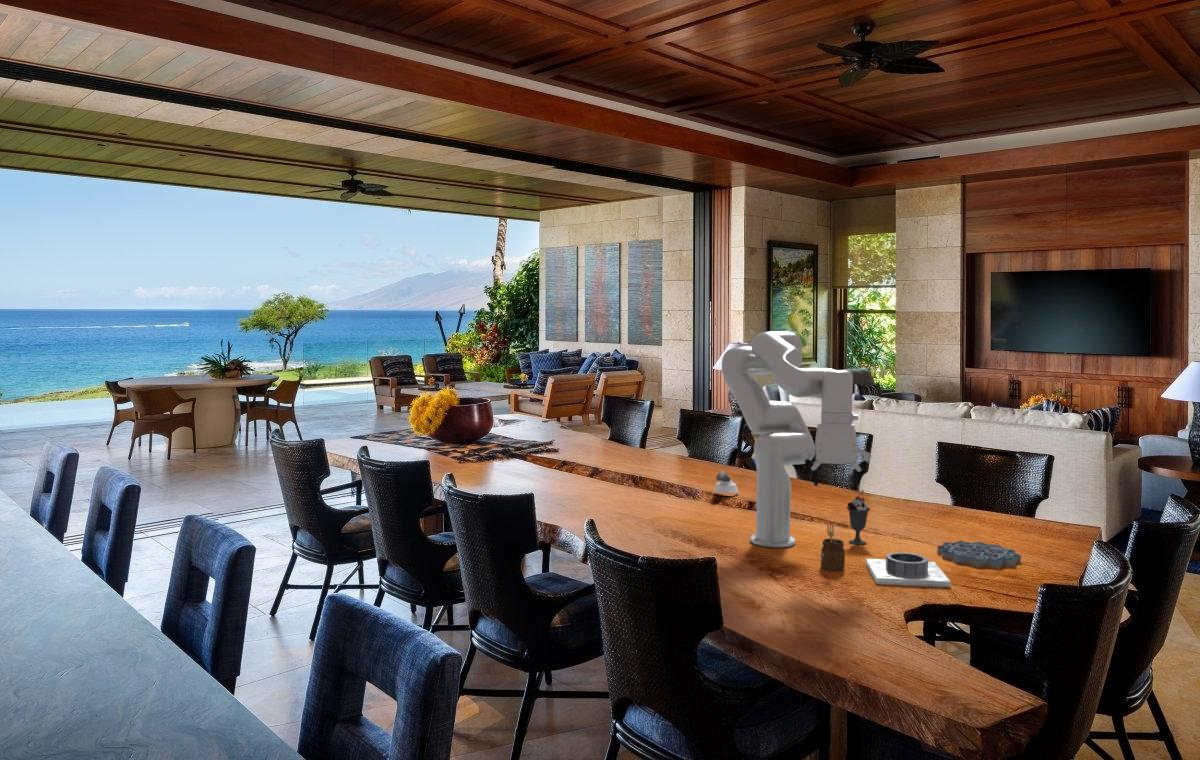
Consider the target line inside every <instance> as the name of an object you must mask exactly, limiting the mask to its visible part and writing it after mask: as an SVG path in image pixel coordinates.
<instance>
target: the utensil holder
mask: <svg viewBox="0 0 1200 760" xmlns="http://www.w3.org/2000/svg"><path fill="white" fill-rule="evenodd" d="M826 525H827V526H826V527H827V530H826V531H827V536H829V538H825V539H823V541H822V547H821V549H820V550H821V551H820V565H821V568H822V569H824V570H827V571H833V572H834V571H843V570H844V569H845V564H846V563H845V561H846V552H845V548H844V545H845V543H844V541H843V540H841V539H840V538H839V537H841V531H842V530H841V527H840V526H839V524H837V523H834V524H831V523H830V524H829V523H827V524H826ZM835 526H837V531H839V534H838V535H836V536H835ZM835 537H836V538H835Z"/></svg>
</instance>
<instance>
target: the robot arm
mask: <svg viewBox="0 0 1200 760" xmlns="http://www.w3.org/2000/svg"><path fill="white" fill-rule="evenodd" d="M802 351H803V346H802V342H801V339H800V337H799V336H798V335H797V334H796V333H794V332H791V331H764V332H763V331H762V332H760V333H758V334H756V335H755V336H754V337H753V338H752V340H751V343H750V346H745V345H744V346H736V347H732V348H730V349H728V350H726V351H725V352H724V354H723V357H722V359H721V360H722V361H721V373H722V375H723V376H722V377H723V379H724V382H725V383H726V385H727V387H728V389H729V390H730V392H731V393H732V395H733V396H734V397H735V400H736V401H737V404H738V406H739V409H740V411H741V413H742V415H743V418H744V420H745V422H746V425H747V426H748V429H749V430H750V431H751V432H752V433H754V434H755V435H759V436H757V438H756V439H755V442H754V445H753V453H754V454H753V455H754V458H755V465H756V513H755V514H756V515H755V516H756V522H755V525H756V526H755V534H752V535H751V536H750V543H752V544H754V545H757V546H761V547H767V548H789V547H792V546H794V545H795V544H796V538H795V537H794V536H791V506H792V505H791V504H792V502H791V498H792V494H791V493H792V482H791V478H790V475H789V473H788V472H787V469H785V466H792V465H793V466H794V465H804V464H806V465H807V466H808V467H809V468H810V469H811V477H810V478H811V479H810V480H811V483H813V485H814V487H818V486H819V470H818V468H819V467H820V465H821V464H830V465H832V464H835V465H836V464H837V465H851V466H852V467H853V469H852V484H851V485H852V486H853V487H854V488H858V484H860V481H861V480H860V479H861V478H860V475H861V473H860V472H862V470H863V469H864V468H865V467H866V466H867V465H868V464H869V461H870V460H871V458H872V454H871V453H870V452H867V451H866V450H864V449H862V448H860V447H859V446H857V445H858V444H857V443H858V442H857V441H858V440H857V433H856V431H857V430H856V426H855V424H854V423H853V422H854V421H858V420H859V414H855V413H853V396H854V395H853V394H854V391H853V389H854V388H853V386H854V381H853V380H854V375H853V373H852V371H850V370H845V369H843V370H841V369H834V368H829V367H804V368H800V367H801V365H802V363H803V354H802ZM773 374H774V375H773ZM751 375H755V376H756V375H773V376H774V379H775V381H776V383H777V385H778V387H779V388H781V390H783V391H785V392H786V393H787V394H788V395H791V396H793V397H796V398H815V397H817V398H821V410H820V411H821V413H820V414H821V415H820V417H821V418H820V419H821V420H820V421H821V422H819V423H818V424H817V427H816V433H815V440H813V436H812V434H811V433H810V431H809V428H808V427H807V425H806V421H805V420H804V418H803V416H802V414H801V412H800V410H799V408H798V407H797V406H796V405H794V404H793V403H792V402H788V401H783V400H782V401H774V400H773V401H772V400H770V399H769V397H768V396H767V395H766V392H765V390H764V388H763V387H762V386H761V385H760V383H759V382H758V381H756V379H754V378H752V377H751ZM814 441H815V442H814ZM858 454H860V455H861V456H863V459H862V460H861V461H860V462H858V463H857V459H858ZM814 458H815V460H814V461H812V460H813V459H814Z"/></svg>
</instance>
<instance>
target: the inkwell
mask: <svg viewBox="0 0 1200 760" xmlns="http://www.w3.org/2000/svg"><path fill="white" fill-rule="evenodd" d="M716 480H717V482H716V483H715V485H714V489H713V491H714V490H715V491H717V492H720V493H736V492H738V493H739V490H738V487H737V484H736V483H735V482H733V480H732V479H731V477H730V476H729V475H728V473H726V472H725V471H723V470H722V471H720V472H719V473H718V474H717V475H716Z"/></svg>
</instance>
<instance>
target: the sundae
mask: <svg viewBox="0 0 1200 760" xmlns="http://www.w3.org/2000/svg"><path fill="white" fill-rule="evenodd" d="M861 495H862V497H860V496H861ZM865 500H866V499H865V498H864V490H861V493H860V494H858V495H857V496H856V497H855V498H853V499H852V500H851V502H848V503H847V506H846V509H847V510H848V514H849V521H850V522H849V524H850V527H851V528H852V530H854V531H855V537H854V539H851V540H848V543H849V544H850V545H855V546H865V545H867V542H866V541H863V540H862V539H861V531H863V530H864V529H865V527H866V523H867V520H868V513H869V512H870V511H871V508H870V507H868V506H869V505H868V504H867V502H865Z"/></svg>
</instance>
